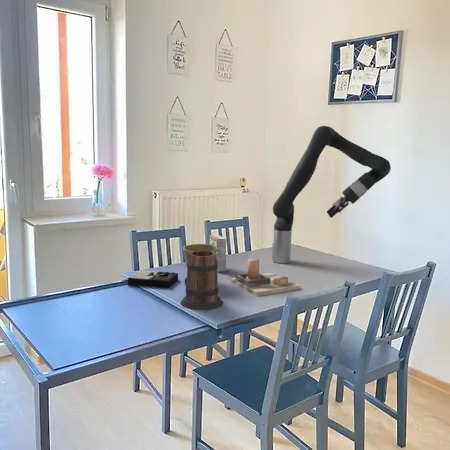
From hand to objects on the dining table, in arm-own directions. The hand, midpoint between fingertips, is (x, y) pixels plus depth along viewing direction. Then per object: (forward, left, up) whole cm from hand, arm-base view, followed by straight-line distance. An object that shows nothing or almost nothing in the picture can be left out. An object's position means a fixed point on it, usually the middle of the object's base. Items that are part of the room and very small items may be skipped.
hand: (328, 214), depth 222 cm
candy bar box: (-28, -45, -29) cm, 60 cm away
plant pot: (-12, -62, -29) cm, 69 cm away
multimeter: (-21, -81, -29) cm, 88 cm away
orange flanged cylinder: (+2, -43, -27) cm, 51 cm away
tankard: (+9, -73, -29) cm, 79 cm away
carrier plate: (+4, -38, -29) cm, 47 cm away
